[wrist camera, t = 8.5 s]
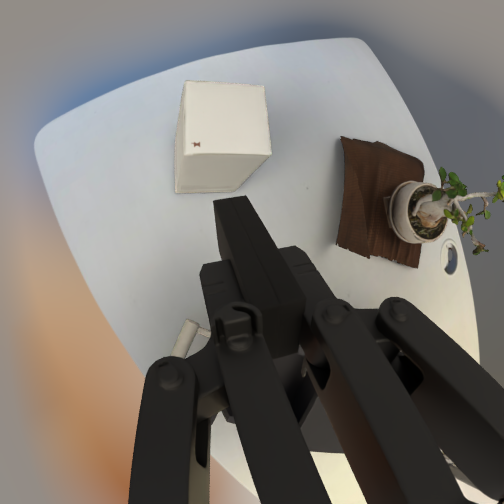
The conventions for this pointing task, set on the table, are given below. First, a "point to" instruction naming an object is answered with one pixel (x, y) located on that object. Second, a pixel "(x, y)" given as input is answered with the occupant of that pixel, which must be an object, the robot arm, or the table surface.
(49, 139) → the table surface
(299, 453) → the robot arm
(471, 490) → the grey document camera stand
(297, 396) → the drawer
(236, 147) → the white packaging box
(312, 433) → the dark drawer cabinet
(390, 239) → the potted plant
